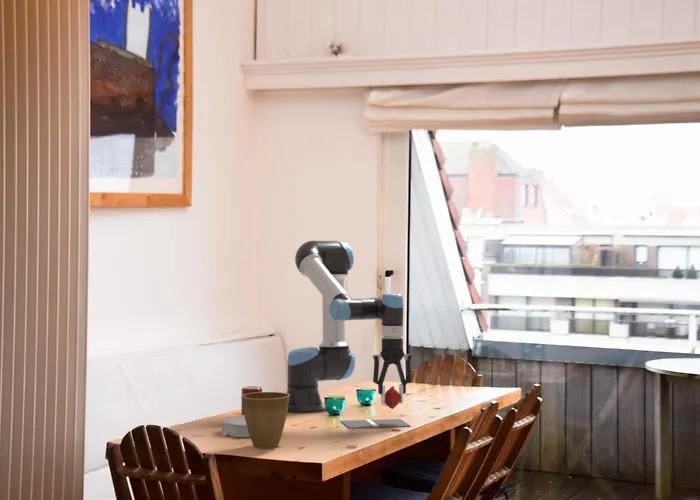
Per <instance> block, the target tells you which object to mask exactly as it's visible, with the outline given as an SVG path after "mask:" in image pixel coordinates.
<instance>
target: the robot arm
mask: <svg viewBox="0 0 700 500" xmlns="http://www.w3.org/2000/svg"><path fill="white" fill-rule="evenodd" d="M294 257H295V258H294V262H295V266H296V268H297V270H298V271H299V272H300V274H301V275H302V276H304V277H307V278H308V280H309V281H310V282H311V284H312V285H313V286H314V287H315V288H316V289H317V290H318V291H319V294H320V295H322V296H321V297H322V303H321V304H322V309H321V310H322V342H320V343H319V345H318V347H314V346H308V347H299V348H298V347H297V348H295V349H292V350H290V351H288V355H287V362H286V364H287V389H286V392H285V393H287V394H289V403H288V410H287V412H292V413H312V412H313V413H315V412H320V411H322V410H323V402H322V399H321V396H320V392H319V382H320V381H321V382H322V381H341V380H346V379H349V378H350V377H351V375H352V374H353V373H354V371H355V367H356V355H355V353H354V351H353V350H352V349H350V344H348V342H347V341H346V328H345V325H346V324H345V321H356V320H357V321H358V320H360V321H361V320H367V321H369V320H378V321H379V320H380V321H381V337H382V338H381V351H380V353H379V354H373V355H372V359H373V377H372V383H374V384H376V385H377V389H378V390H377V391H378V395H380V403H381V404H382V405H386V404H385V393H386V385H385V384H384V382H385V378H386V375H387V372H388V368H389V366H390V365H395V366H396V370H397V373H398V376H399V380H400V383H401V384H400V383H399V384H398V393H399V395H400V402H399V404H400V405H402V404H404V395H405V394H407V393H406V392H407V385H408V384H411V383H412V373H411V371H412V370H411V369H412V368H411V360H412V355H411V354H409V353H405V351H404V339H403V338H402V337H403V336H404V306H405V305H404V297H403V294H400V293H383V294H382V295H381V298H378V297H370V298H352V297H351V296H350V295H349V293H347V291H346V290H345V279H346V278H347V277H348V275H349V271H351V270H352V268H353V265H354V257H355V256H354V253H353V250H352V248H351V246H350V244H348V242H345V241H340V240H308V241H306V242H304V243H303V244H301V245H300V246H299V248H298V249H297V251H296V253H295V256H294ZM381 358H382V360H383V362H382V363H383V364H382V368H381V371H380V360H381ZM402 359H404V360H405V361H404V365H405V374H404V370H403V367H402V362H401V361H402ZM379 371H380V374H379Z"/></svg>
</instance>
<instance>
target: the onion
mask: <svg viewBox="0 0 700 500" xmlns="http://www.w3.org/2000/svg"><path fill="white" fill-rule="evenodd" d="M399 402H400V395H399V391H398V390H396V389H395V386H394V385H392V386H391V387H390V388H389V389H387V390H386V391H385V404H384V405H386V406H387V407H388V408H389V409H392V410H393V409H395V408H396V407H397V406H399V404H400V403H399Z"/></svg>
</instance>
